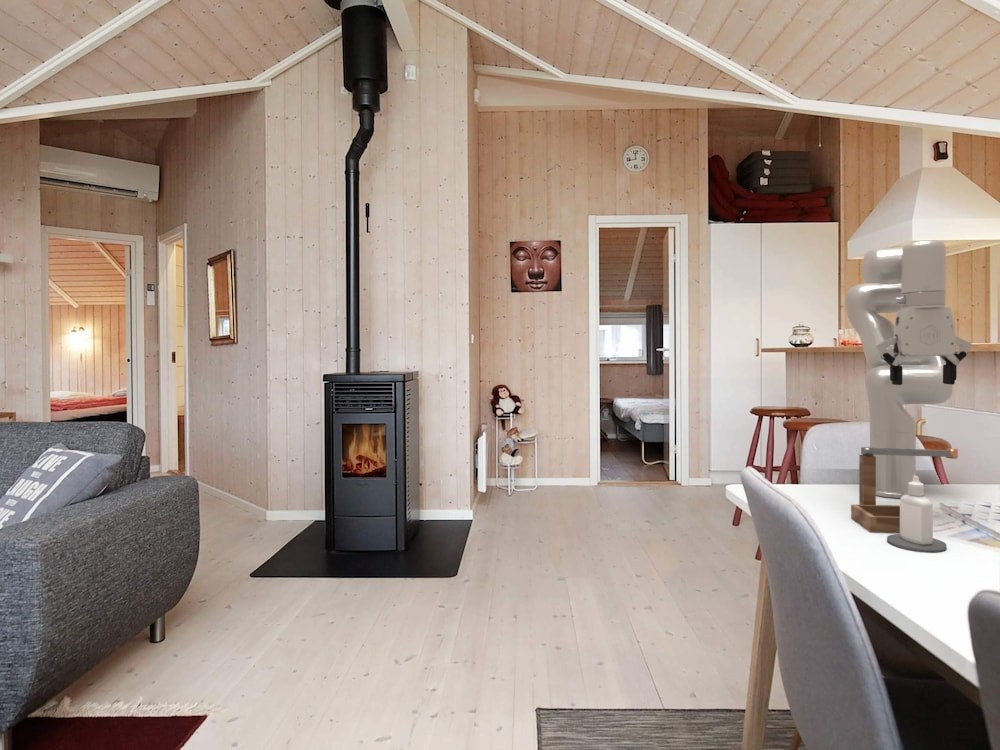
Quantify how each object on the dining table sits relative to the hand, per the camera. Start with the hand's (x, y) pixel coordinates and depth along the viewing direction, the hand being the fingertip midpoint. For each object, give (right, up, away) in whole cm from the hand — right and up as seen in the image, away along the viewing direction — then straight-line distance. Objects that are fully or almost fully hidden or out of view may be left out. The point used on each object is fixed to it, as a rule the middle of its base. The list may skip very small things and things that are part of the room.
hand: (922, 384), depth 126 cm
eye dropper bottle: (-12, -29, -15) cm, 34 cm away
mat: (-12, -29, -15) cm, 35 cm away
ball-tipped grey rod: (0, -15, +4) cm, 16 cm away
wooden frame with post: (-9, -28, 0) cm, 30 cm away
